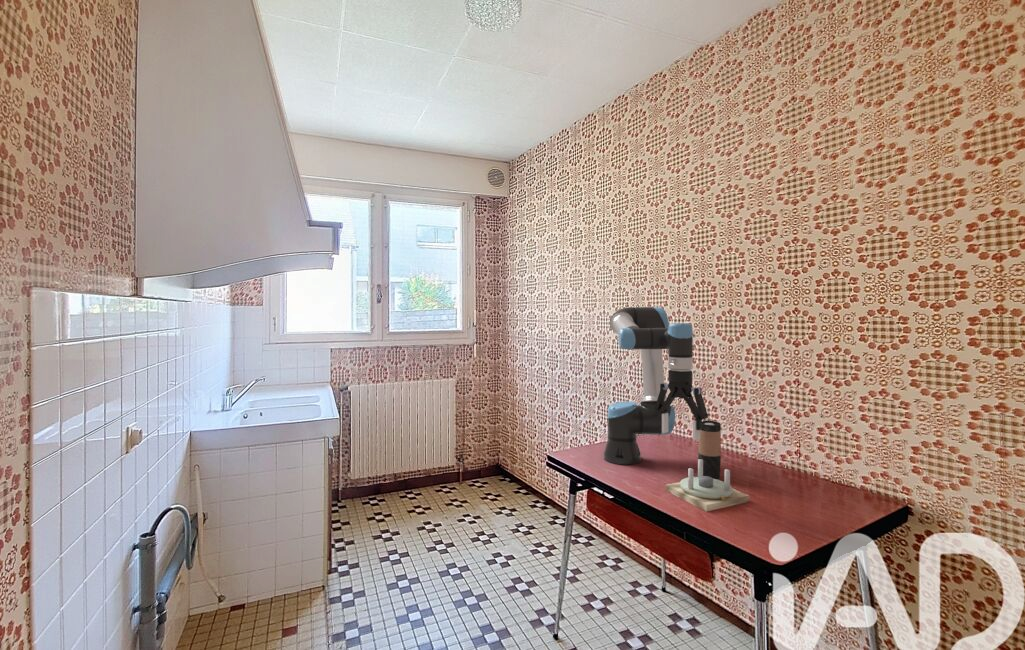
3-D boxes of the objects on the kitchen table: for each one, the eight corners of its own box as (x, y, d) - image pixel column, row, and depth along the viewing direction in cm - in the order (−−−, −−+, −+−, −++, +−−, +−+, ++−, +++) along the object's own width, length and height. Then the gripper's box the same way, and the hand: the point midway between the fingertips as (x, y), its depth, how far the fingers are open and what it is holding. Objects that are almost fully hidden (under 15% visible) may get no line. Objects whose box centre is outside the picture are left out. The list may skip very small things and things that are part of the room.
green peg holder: (669, 484, 156) (669, 462, 156) (705, 477, 162) (705, 456, 162) (706, 502, 141) (706, 477, 141) (744, 493, 147) (744, 470, 147)
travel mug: (723, 480, 165) (723, 425, 164) (700, 479, 166) (700, 424, 166) (718, 473, 172) (718, 420, 172) (696, 472, 174) (696, 420, 173)
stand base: (665, 490, 156) (665, 481, 156) (705, 482, 163) (705, 473, 163) (707, 511, 140) (707, 501, 139) (749, 501, 146) (749, 492, 146)
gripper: (643, 367, 158) (643, 430, 159) (707, 374, 140) (707, 445, 140) (656, 365, 163) (656, 427, 163) (720, 372, 144) (720, 441, 145)
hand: (680, 435), depth 152 cm, fingers open, 11 cm apart
